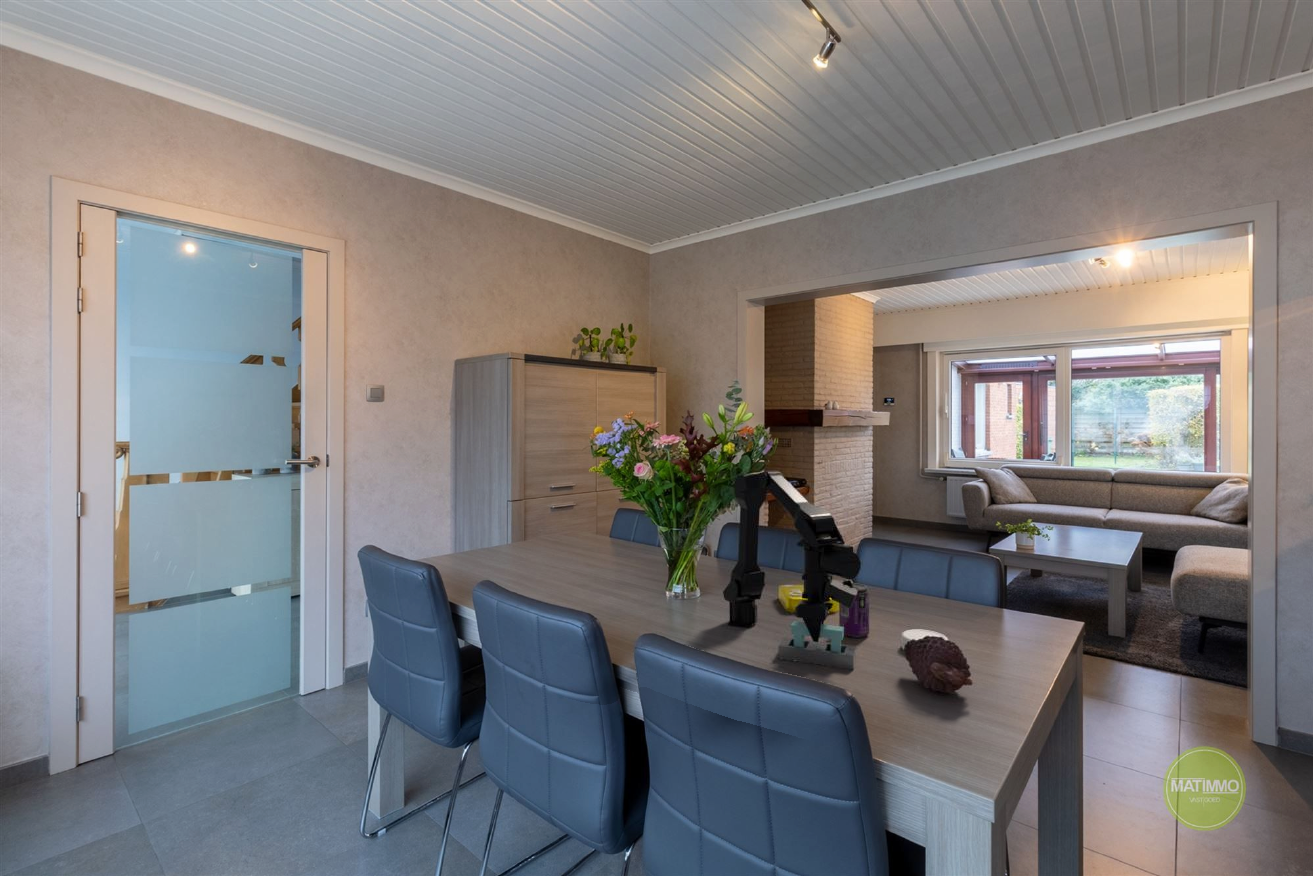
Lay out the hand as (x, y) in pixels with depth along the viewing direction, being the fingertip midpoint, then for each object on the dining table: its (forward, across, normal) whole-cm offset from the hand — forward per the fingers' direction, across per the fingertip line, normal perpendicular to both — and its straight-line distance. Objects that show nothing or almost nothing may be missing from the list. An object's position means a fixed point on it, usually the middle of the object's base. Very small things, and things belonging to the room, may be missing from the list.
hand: (817, 639), depth 134 cm
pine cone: (+5, -6, -24) cm, 25 cm away
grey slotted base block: (+4, 0, 0) cm, 4 cm away
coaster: (+5, +15, -22) cm, 27 cm away
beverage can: (+5, +20, -6) cm, 21 cm away
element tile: (+5, +41, +9) cm, 42 cm away
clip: (+4, 0, 0) cm, 4 cm away
